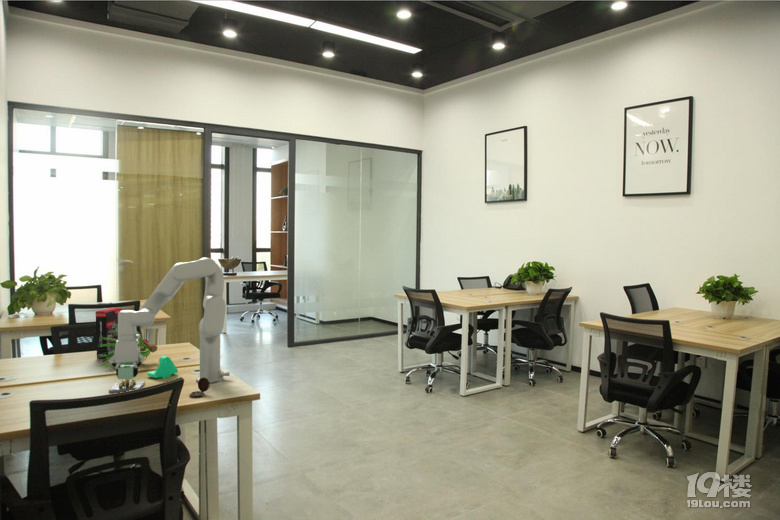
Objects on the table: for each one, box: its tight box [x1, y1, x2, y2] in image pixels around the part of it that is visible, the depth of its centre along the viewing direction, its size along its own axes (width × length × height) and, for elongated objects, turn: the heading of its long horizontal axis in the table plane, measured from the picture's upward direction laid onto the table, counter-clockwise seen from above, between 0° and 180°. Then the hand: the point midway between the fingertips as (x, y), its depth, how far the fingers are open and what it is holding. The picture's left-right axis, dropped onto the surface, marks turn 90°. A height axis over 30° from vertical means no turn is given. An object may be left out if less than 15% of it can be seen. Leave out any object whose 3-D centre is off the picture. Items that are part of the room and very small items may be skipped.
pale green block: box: [117, 364, 135, 380], centre depth 231 cm, size 6×6×5 cm
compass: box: [189, 377, 210, 399], centre depth 222 cm, size 8×8×7 cm
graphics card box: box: [95, 307, 123, 360], centre depth 294 cm, size 17×7×27 cm, turn 179°
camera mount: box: [146, 355, 179, 379], centre depth 253 cm, size 12×8×10 cm, turn 148°
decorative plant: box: [96, 324, 158, 370], centre depth 271 cm, size 26×25×30 cm
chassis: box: [108, 378, 146, 394], centre depth 231 cm, size 12×12×7 cm
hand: (127, 376), depth 231 cm, fingers closed on pale green block, 6 cm apart
